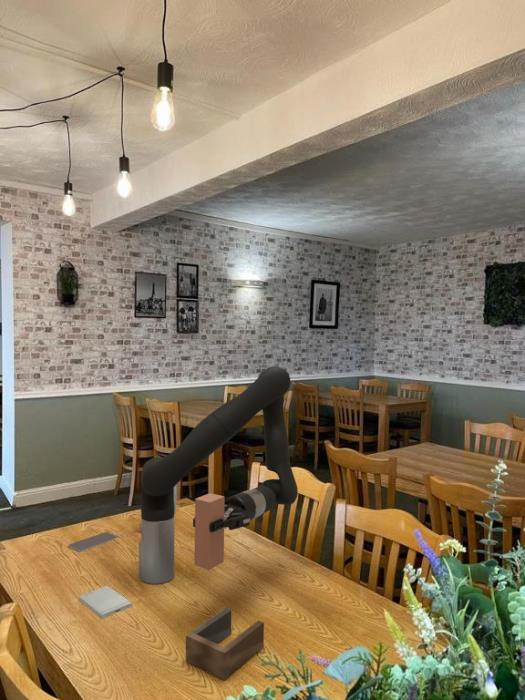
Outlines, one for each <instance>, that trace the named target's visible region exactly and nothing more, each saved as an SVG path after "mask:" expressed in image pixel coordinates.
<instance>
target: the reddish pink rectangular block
mask: <svg viewBox="0 0 525 700" xmlns="http://www.w3.org/2000/svg"><path fill="white" fill-rule="evenodd" d="M225 502H226V500H225V496H224V495H219V494H215V493H211V492H210V493H207V494H204V495H202V496H199V497H197V498H195V500H194V503H195V504H194V518H195V527H194V566H195V567H199V568H202V569H204V570H207V571H210V570H212V569H213V568H215V567H217V566H219V565H221V564H223V563H224V562H225V561H224V560H225V559H224V558H225V529H222V528H221V529H219V530H217V531H215V532H213V533H212V532H210V531H209V524H210V523H211V522H213V521H216V520H218V519H221V518H222V517H224V503H225Z"/></svg>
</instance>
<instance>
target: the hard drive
mask: <svg viewBox="0 0 525 700" xmlns="http://www.w3.org/2000/svg"><path fill="white" fill-rule="evenodd" d="M78 600H79V602H81V603H82V604H83V605H85V606H86V607H87V608H88V609H89V610H90V611H92V612H94V613H95V614H96V616H99V617H100V618H101V619H105V618H108V617H111V616H113V615H115V614H118V613H120V612H123V611H124V610H127V609H128V610H129V609H130V608H133V603H132V601H129V600H128V599H126V598H125V597H124V596H123V595H122V594H120V593H118V592H117V591H115V590H114V589H113V588H112V587H110V586H108V585H106V586H103V587H99V588H97V589H95V590H92V591H89V592H87V593H83V594H82V595H80V596H79V597H78Z"/></svg>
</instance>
